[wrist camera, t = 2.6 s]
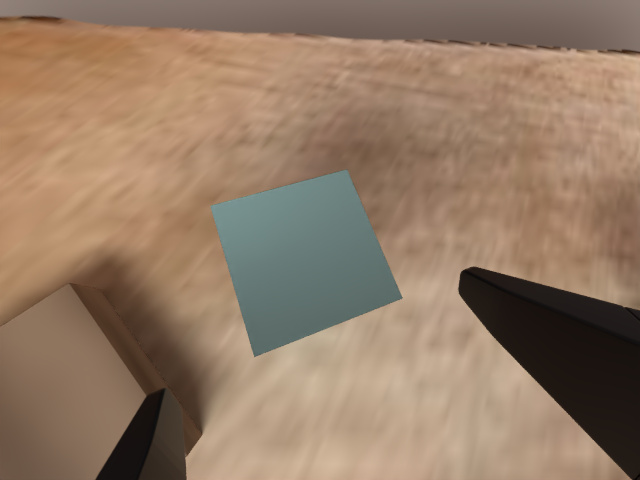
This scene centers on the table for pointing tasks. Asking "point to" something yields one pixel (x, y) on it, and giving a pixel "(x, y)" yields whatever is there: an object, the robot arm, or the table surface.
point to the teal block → (302, 259)
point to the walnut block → (70, 387)
